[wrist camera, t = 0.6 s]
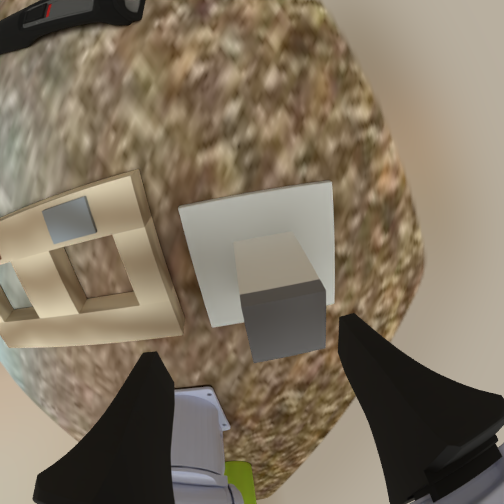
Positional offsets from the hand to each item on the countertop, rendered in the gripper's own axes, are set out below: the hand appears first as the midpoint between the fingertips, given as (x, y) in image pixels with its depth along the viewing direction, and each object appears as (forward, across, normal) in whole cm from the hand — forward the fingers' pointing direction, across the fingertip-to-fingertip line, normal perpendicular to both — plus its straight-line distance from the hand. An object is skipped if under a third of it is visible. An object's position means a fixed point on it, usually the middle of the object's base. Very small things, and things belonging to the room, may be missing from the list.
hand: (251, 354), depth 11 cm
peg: (+10, -2, +2) cm, 10 cm away
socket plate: (+10, +15, 0) cm, 18 cm away
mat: (+10, -2, +2) cm, 11 cm away
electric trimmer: (+11, +10, -19) cm, 24 cm away
